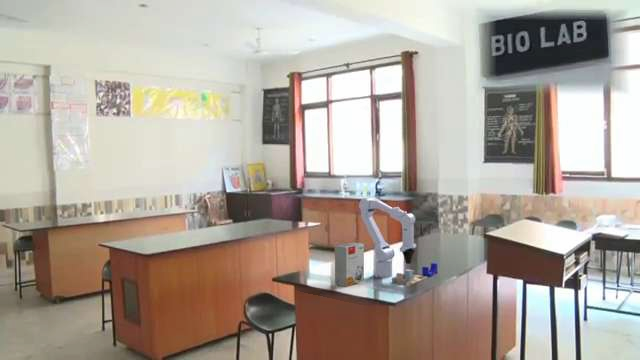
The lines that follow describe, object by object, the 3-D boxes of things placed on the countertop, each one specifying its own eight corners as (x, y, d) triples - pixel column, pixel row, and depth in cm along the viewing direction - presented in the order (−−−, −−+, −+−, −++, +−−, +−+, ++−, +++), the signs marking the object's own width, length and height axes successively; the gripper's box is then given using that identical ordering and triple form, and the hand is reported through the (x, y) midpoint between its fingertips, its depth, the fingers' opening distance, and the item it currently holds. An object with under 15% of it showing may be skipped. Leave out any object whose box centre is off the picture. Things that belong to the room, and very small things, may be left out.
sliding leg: (412, 281, 254) (412, 271, 253) (404, 279, 256) (404, 270, 256) (415, 280, 256) (415, 270, 256) (407, 278, 259) (407, 269, 259)
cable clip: (430, 279, 262) (430, 267, 262) (422, 277, 265) (422, 266, 265) (439, 274, 272) (439, 263, 271) (432, 273, 275) (432, 262, 274)
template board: (407, 287, 245) (407, 275, 245) (390, 284, 252) (390, 273, 251) (428, 278, 262) (428, 267, 262) (411, 276, 269) (411, 265, 268)
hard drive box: (346, 287, 248) (345, 247, 247) (334, 285, 253) (333, 246, 252) (364, 281, 260) (364, 243, 259) (353, 279, 265) (352, 241, 264)
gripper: (408, 239, 248) (408, 266, 249) (421, 235, 260) (421, 261, 260) (395, 238, 253) (396, 265, 253) (409, 234, 264) (409, 260, 265)
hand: (408, 263), depth 257 cm, fingers closed
